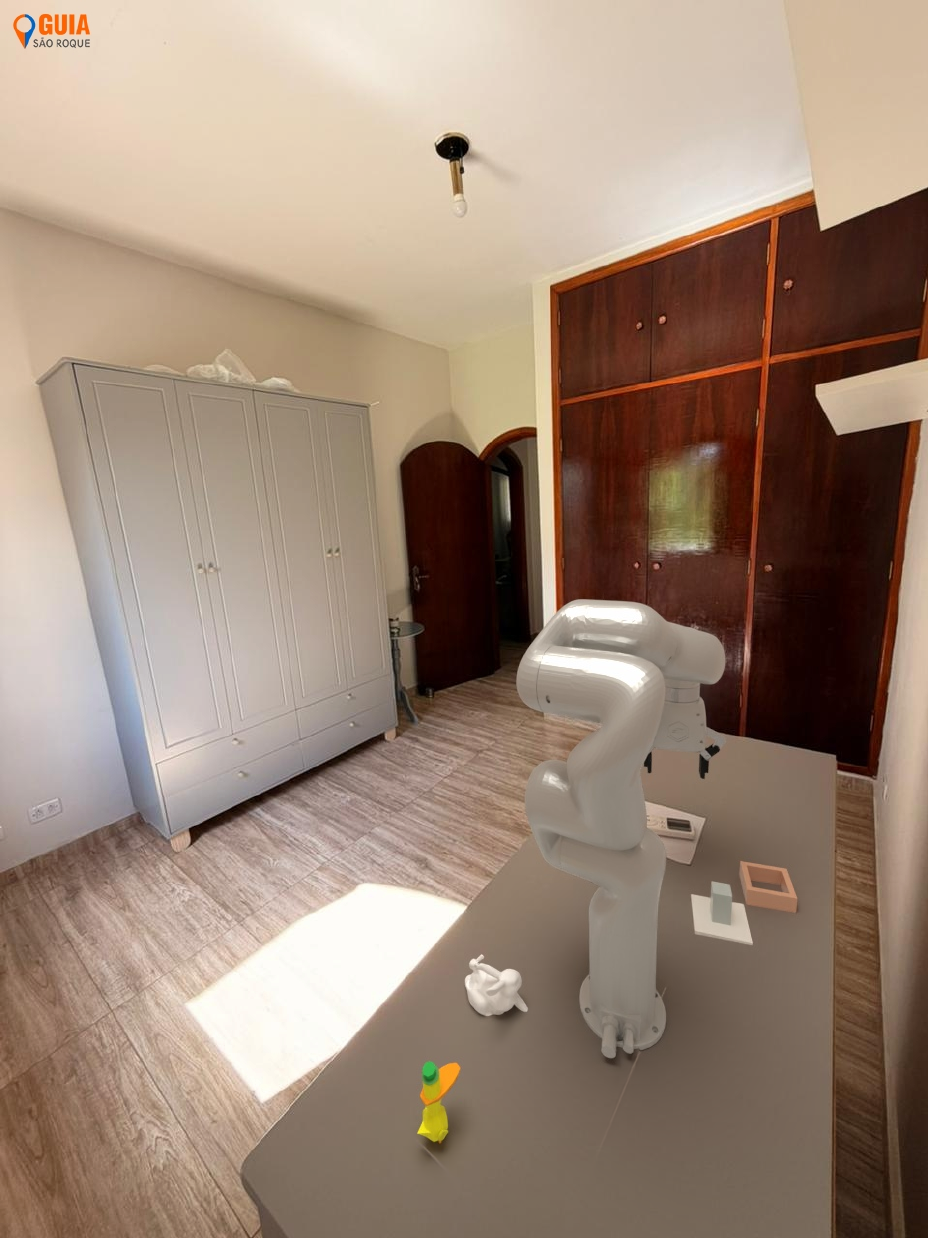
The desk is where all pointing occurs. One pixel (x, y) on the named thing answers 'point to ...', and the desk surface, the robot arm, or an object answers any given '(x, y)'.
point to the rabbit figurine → (493, 989)
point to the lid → (720, 915)
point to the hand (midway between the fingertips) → (675, 772)
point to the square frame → (764, 896)
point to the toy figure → (436, 1098)
